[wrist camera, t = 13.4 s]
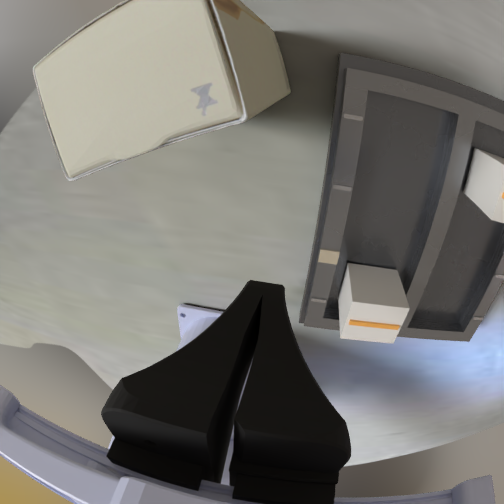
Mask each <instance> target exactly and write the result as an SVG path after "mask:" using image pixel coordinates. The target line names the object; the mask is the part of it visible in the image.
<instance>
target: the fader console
mask: <svg viewBox="0 0 504 504" xmlns="http://www.w3.org/2000/svg"><path fill="white" fill-rule="evenodd" d="M474 148H477V149H480V150H483V151H486V152H489V153H492V154H494V155H497V156H500V157H502V158H504V101H502V100H499V99H497V98H495V97H492V96H490V95H488V94H485V93H483V92H481V91H478V90H476V89H473V88H470V87H468V86H465V85H462V84H460V83H457V82H454V81H451V80H448V79H445V78H442V77H439V76H436V75H433V74H430V73H427V72H423V71H420V70H416V69H413V68H409V67H405V66H402V65H398V64H394V63H390V62H385V61H381V60H376V59H372V58H367V57H362V56H357V55H351V54H346V53H340V54H339V58H338V69H337V79H336V89H335V98H334V107H333V115H332V123H331V131H330V139H329V147H328V154H327V161H326V168H325V175H324V182H323V188H322V195H321V201H320V207H319V213H318V219H317V225H316V231H315V237H314V242H313V248H312V253H311V259H310V264H309V270H308V275H307V280H306V285H305V290H304V295H303V300H302V305H301V310H300V317H299V323H304V326H309V327H317V328H324V329H332V330H340V322H339V303H338V297H339V293H340V290H341V286H342V282H343V279H344V275H345V271H346V267H347V264H348V263H352V264H359V265H366V266H372V267H379V268H386V269H393V270H397V271H398V274H399V277H400V280H401V283H402V286H403V289H404V292H405V295H406V298H407V301H408V304H409V308H410V309H409V311H408V313H407V316H406V318H405V320H404V322H403V324H402V326H401V329H400V331H399V333H398V335H397V337H409V338H421V339H435V340H450V341H470V339H471V338H472V336H473V335H474V333H475V331H476V330H477V328H478V326H479V325H480V323H481V321H482V319H483V318H484V316H485V314H486V312H487V311H488V309H489V307H490V305H491V303H492V302H493V300H494V298H495V296H496V294H497V292H498V290H499V288H500V286H501V284H502V282H503V280H504V223H501V222H497V221H494V220H491V219H490V218H489V217H488V216H487V215H486V214H485V213H484V212H483V211H482V210H481V209H480V208H479V207H478V206H477V205H476V204H475V203H474V202H473V201H472V200H471V199H470V198H469V197H468V196H467V195H466V194H465V193H463V191H464V188H465V184H466V181H467V177H468V173H469V169H470V165H471V161H472V157H473V152H474Z"/></svg>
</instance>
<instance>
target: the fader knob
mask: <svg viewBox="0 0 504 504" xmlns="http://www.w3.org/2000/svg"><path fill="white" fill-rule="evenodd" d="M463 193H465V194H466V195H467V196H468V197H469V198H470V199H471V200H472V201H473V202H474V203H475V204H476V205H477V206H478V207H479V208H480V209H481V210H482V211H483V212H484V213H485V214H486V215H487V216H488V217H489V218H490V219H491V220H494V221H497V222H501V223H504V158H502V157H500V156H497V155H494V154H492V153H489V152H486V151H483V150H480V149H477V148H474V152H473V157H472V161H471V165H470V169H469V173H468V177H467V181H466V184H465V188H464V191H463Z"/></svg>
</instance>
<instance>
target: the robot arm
mask: <svg viewBox="0 0 504 504" xmlns="http://www.w3.org/2000/svg"><path fill="white" fill-rule="evenodd" d="M177 311H178V319H179V327H180V335H181V341H180V344H179V346H178V348H177V350H176V352H175V353H173V354H171V355H170V356H168V357H166V358H164V359H163V360H161V361H159V362H157V363H155V364H153V365H152V366H150V367H148V368H145V369H143V370H141V371H138V372H136V373H134V374H131V375H129V376H127V377H124V378H122V379H121V380H120V381H119V383H118V384H117V386H116V387H115V388H114V390H113V391H112V393H111V394H110V396H109V398H108V400H107V402H106V404H105V406H104V407H103V409H102V412H101V415H102V418H103V420H104V422H105V424H106V425H107V427H108V428H109V430H110V431H111V433H112V434H113V436H112V439H111V442H110V444H109V447H108V449H107V448H104V447H102V446H100V445H98V444H95V443H93V442H91V441H88V440H86V439H84V438H82V437H80V436H78V435H76V434H74V433H72V432H70V431H68V430H66V429H64V428H62V427H60V426H58V425H56V424H54V423H52V422H50V421H48V420H47V419H45V418H43V417H41V416H39V415H38V414H36V413H34V412H32V411H31V410H29V409H27V408H26V407H24V406H22V405H21V404H20V402H19V401H18V399H16V397H15V396H14V395H13V394H12V393H11V392H10V391H8V390H7V389H5V388H4V387H3V386H1V385H0V455H1V456H2V457H3V458H4V459H6V460H7V461H8V462H10V463H11V464H13V465H14V466H15V467H17V468H18V469H20V470H21V471H22V472H24V473H25V474H27V475H28V476H30V477H31V478H33V479H34V480H36V481H37V482H39V483H40V484H42V485H43V486H45V487H47V488H48V489H50V490H52V491H53V492H55V493H57V494H58V495H60V496H62V497H63V498H65V499H67V500H69V501H71V502H72V503H74V504H495V496H494V489H493V481H492V476H491V475H488V476H483V477H479V478H474V479H470V480H466V481H464V482H462V483H460V484H458V485H456V486H455V487H454V488H453V489H449V490H443V491H437V492H430V493H423V494H414V495H403V496H392V497H391V496H390V497H368V498H335V484H337V483H338V476H339V470H340V469H341V468H342V467H343V466H344V465H345V464H346V463H347V462H348V461H349V459H350V457H351V444H350V437H349V433H348V429H347V425H346V422H345V420H344V419H343V418H342V417H341V416H340V414H339V413H338V412H337V411H336V409H335V408H334V407H333V406H332V404H331V403H330V402H329V400H328V399H327V397H326V396H325V394H324V393H323V392H322V390H321V388H320V387H319V385H318V383H317V382H316V380H315V378H314V377H313V375H312V374H311V372H310V370H309V368H308V366H307V364H306V362H305V360H304V358H303V356H302V353H301V351H300V349H299V346H298V344H297V341H296V338H295V336H294V333H293V330H292V327H291V323H290V320H289V316H288V312H287V307H286V302H285V288H284V286H283V285H279V284H272V283H266V282H259V281H253V280H250V281H248V282H247V284H246V285H245V287H244V288H243V290H242V291H241V292H240V294H239V295H238V296H237V297H236V299H235V300H234V301H233V302H232V303H231V304H230V305H229V307H228V308H227V309H226V310H225V311H224V312H223V311H217V310H211V309H206V308H201V307H195V306H190V305H185V304H180V305H179V306H178V309H177ZM183 313H184V314H185V315H184V314H183Z"/></svg>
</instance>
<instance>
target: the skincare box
mask: <svg viewBox="0 0 504 504" xmlns="http://www.w3.org/2000/svg"><path fill="white" fill-rule="evenodd" d="M33 74H34V78H35V81H36V86H37V90H38V94H39V98H40V102H41V105H42V109H43V112H44V117H45V120H46V123H47V126H48V129H49V132H50V135H51V139H52V142H53V144H54V148H55V150H56V153H57V156H58V159H59V161H60V164H61V167H62V170H63V172H64V175H65V177H66V178H67V179H68V180H70V181H75V180H77V179H79V178H82V177H84V176H87V175H89V174H92V173H94V172H97V171H99V170H102V169H104V168H107V167H110V166H113V165H115V164H118V163H120V162H123V161H126V160H128V159H131V158H134V157H136V156H139V155H142V154H145V153H147V152H150V151H153V150H156V149H158V148H161V147H164V146H167V145H170V144H173V143H176V142H179V141H182V140H185V139H189V138H192V137H195V136H198V135H202V134H205V133H209V132H212V131H215V130H218V129H221V128H225V127H229V126H233V125H237V124H241V123H244V122H247V121H248V120H249V119H251V118H252V117H254V116H255V115H257V114H258V113H260V112H262V111H263V110H265V109H266V108H268V107H269V106H271V105H273V104H274V103H276V102H277V101H279V100H280V99H282V98H284V97H285V96H287V95H289V94H290V93H291V90H290V85H289V81H288V77H287V73H286V69H285V65H284V61H283V58H282V54H281V51H280V48H279V45H278V42H277V39H276V36H275V34H274V31H273V30H272V29H271V28H270V27H269V26H268V25H267V24H266V23H264V22H263V21H262V20H261V19H260V18H259V17H258V16H257V15H256V14H254V12H252V11H251V10H250V9H249V8H248V7H246V6H245V5H244V4H243V3H242V2H241V1H240V0H124V1H123V2H121V3H119V4H117V5H116V6H114V7H112V8H111V9H109V10H107V11H106V12H104V13H103V14H101V15H99V16H98V17H96V18H95V19H93V20H92V21H90V22H89V23H87V24H86V25H84V26H83V27H81V28H80V29H79V30H77V31H76V32H75V33H73V34H72V35H71V36H69V37H68V38H66V39H65V40H64V41H63V42H61V43H60V44H59V45H58V46H57V47H55V48H54V49H53V50H52V51H51V52H50V53H48V54H47V55H46V56H45V57H44V58H42V59H41V61H39V62H38V63H37V64H36V65H35V66H34V67H33Z"/></svg>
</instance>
